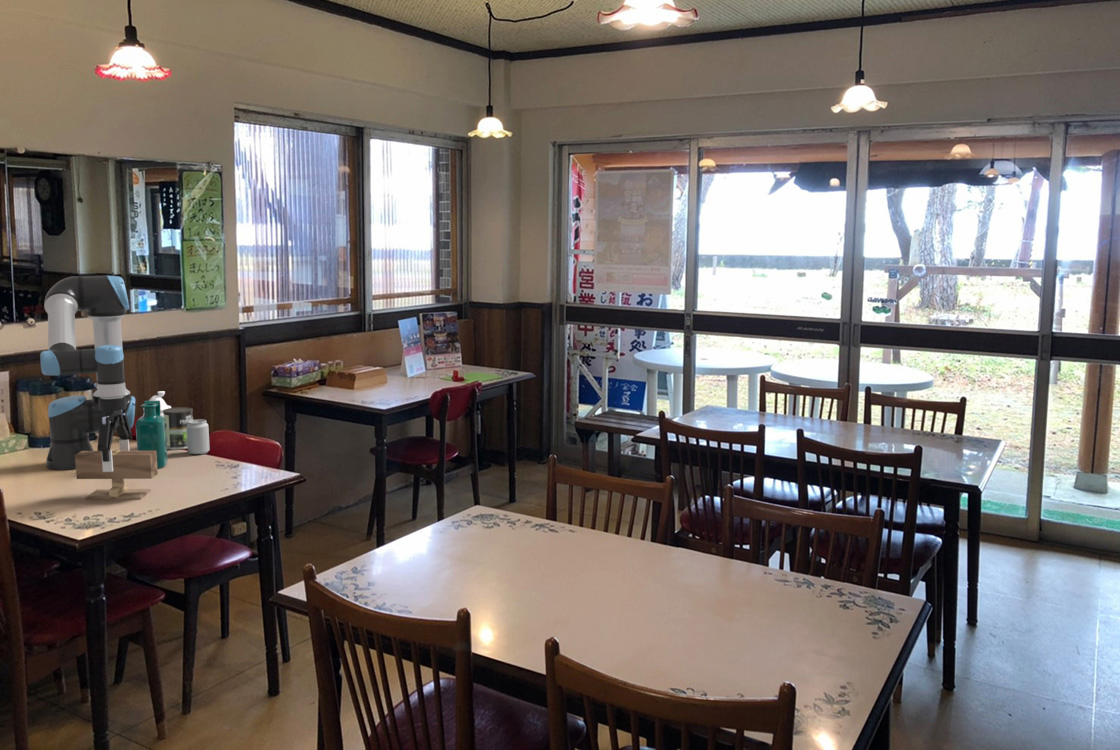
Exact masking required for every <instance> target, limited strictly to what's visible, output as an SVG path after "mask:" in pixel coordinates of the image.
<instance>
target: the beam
mask: <svg viewBox="0 0 1120 750" xmlns="http://www.w3.org/2000/svg"><path fill="white" fill-rule="evenodd" d="M112 459H113V472H103V467H102V453H101V451H98V450H94V451H81V452H79V453H78V454H76V455H75V464H76V469H75V472H76V473H75V475H76V480H112V479H124V480H129V479H130V480H133V479H134V480H138V479H140V480H146V479H148V480H149V479H150V480H152V479H154V478H155V477H156V476H157V475H158V474H159V473H158V471H159V470H158V468H157V454H156V451H137V450H130V451H120V450H112Z"/></svg>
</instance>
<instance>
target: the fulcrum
mask: <svg viewBox="0 0 1120 750" xmlns="http://www.w3.org/2000/svg"><path fill="white" fill-rule="evenodd" d="M128 486H129V485H128V481H127V482H125V479H111V488H107V489H105V488H102V489H101V488H100V489H96V490H94V491H93V492H91V493H90V494H88V495H87V496H86V497H85V500H87V501H90V500H92V501H95V500H98V501H99V500H101V501H102V500H106V501H107V500H142V499H143V498H144V497H145V496H147V495H148V494H149V493H151V492H152V491H151V489H150V488H129V487H128Z"/></svg>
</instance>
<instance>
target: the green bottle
mask: <svg viewBox="0 0 1120 750" xmlns="http://www.w3.org/2000/svg"><path fill="white" fill-rule="evenodd" d="M140 407H141V408H142V409H143V408H144V410H143V414H144V416H143V415H142V416H143V417H142V416H141V417H138V419H137V420H136V422H135V434H136V451H156V454H157V469H162V468H165V467H166V466H167V464H168V461H169V460H168V449H167V441H166V424H165V418H164V417H163V416H160V401H149V400H144V403H143V404H141V405H140Z"/></svg>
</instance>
